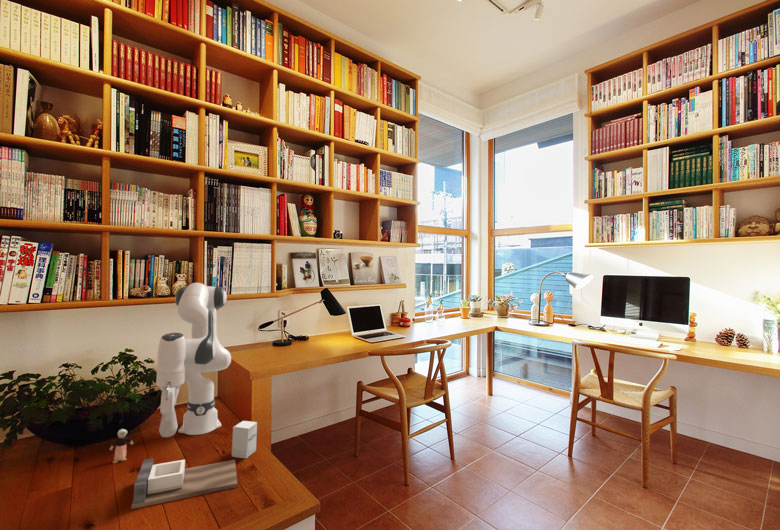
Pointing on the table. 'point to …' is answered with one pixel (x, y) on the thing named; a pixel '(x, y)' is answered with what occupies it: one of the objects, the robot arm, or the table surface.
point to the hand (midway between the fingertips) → (169, 417)
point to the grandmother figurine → (121, 446)
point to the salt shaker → (168, 425)
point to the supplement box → (244, 439)
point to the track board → (186, 483)
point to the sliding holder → (166, 476)
